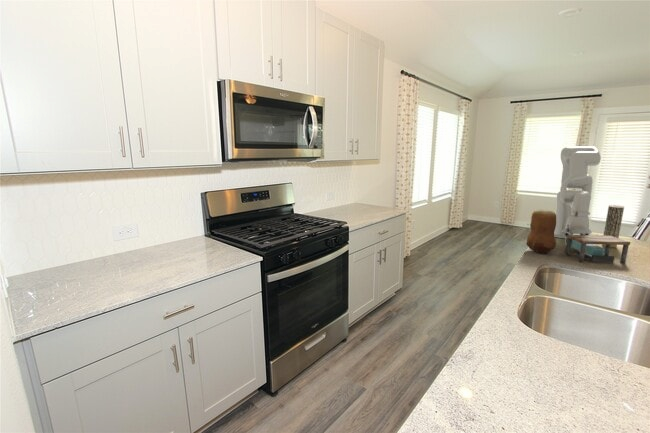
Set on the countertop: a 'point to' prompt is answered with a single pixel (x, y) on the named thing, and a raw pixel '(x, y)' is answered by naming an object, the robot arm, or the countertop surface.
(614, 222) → the brown bark cylinder
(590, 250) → the teal u-channel piece
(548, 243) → the butternut squash
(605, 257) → the small wooden table
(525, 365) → the countertop surface
